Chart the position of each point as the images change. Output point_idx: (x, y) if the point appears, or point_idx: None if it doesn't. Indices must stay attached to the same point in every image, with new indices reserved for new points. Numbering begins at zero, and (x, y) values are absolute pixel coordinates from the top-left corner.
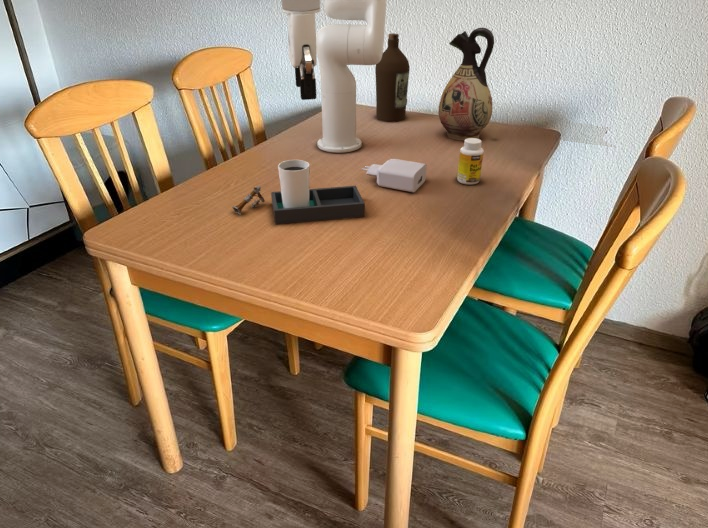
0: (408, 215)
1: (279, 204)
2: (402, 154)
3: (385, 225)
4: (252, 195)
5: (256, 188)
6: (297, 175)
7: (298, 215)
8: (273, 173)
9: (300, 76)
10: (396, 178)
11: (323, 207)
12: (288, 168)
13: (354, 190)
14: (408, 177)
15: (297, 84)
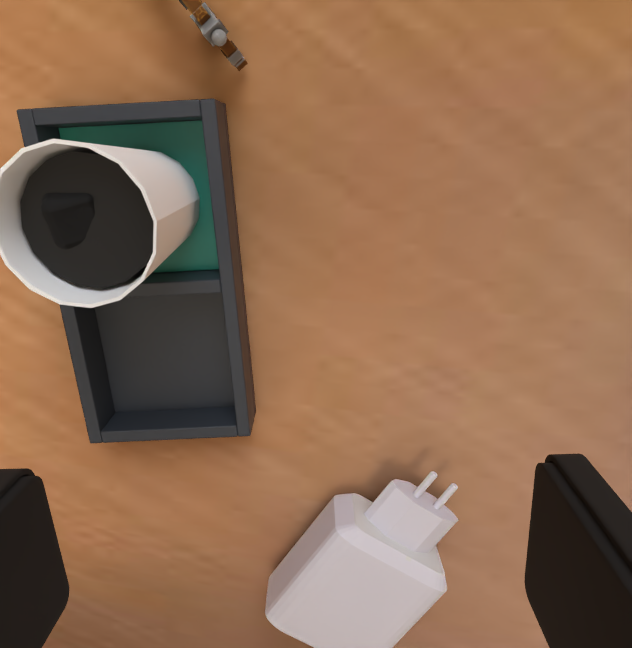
0: (119, 532)
1: (192, 134)
2: None
3: (50, 465)
4: (185, 4)
5: (198, 22)
6: (11, 237)
7: None
8: (570, 116)
9: (585, 596)
10: (298, 564)
11: (61, 306)
12: (133, 195)
13: (210, 425)
14: (274, 601)
15: (547, 480)
